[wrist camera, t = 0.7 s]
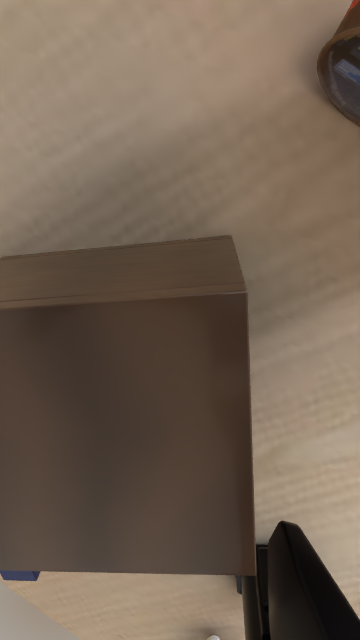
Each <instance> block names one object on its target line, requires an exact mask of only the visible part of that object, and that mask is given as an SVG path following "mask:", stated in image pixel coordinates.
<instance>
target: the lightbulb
mask: <svg viewBox="0 0 360 640" xmlns="http://www.w3.org/2000/svg"><path fill="white" fill-rule="evenodd" d="M206 640H220V639H219V637H218V636H215V635H212V636H210V637H209V639H206Z"/></svg>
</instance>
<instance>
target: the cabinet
mask: <svg viewBox="0 0 360 640" xmlns="http://www.w3.org/2000/svg"><path fill="white" fill-rule="evenodd" d="M0 570H8V571H56V572H104V573H152V574H200V575H248V576H255V575H256V543H255V511H254V480H253V448H252V417H251V386H250V354H249V323H248V292H247V288H246V285H245V281H244V278H243V274H242V271H241V267H240V264H239V260H238V257H237V253H236V250H235V246H234V243H233V240H232V236H231V235H230V236H219V237H209V238H198V239H188V240H177V241H167V242H156V243H146V244H135V245H124V246H114V247H103V248H93V249H82V250H72V251H61V252H50V253H40V254H29V255H19V256H8V257H1V258H0Z"/></svg>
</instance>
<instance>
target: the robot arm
mask: <svg viewBox="0 0 360 640" xmlns="http://www.w3.org/2000/svg"><path fill="white" fill-rule="evenodd" d="M236 579H237V592H238V593H239V594H242V598H243V612H244V625H245V639H246V640H360V619H359V618H358V616H357V615H356V613H355V612H354V610H353V608H352V607H351V605H350V604H349V602H348V601H347V599H346V598H345V596H344V595H343V593H342V592H341V590H340V588H339V587H338V585H337V584H336V582H335V581H334V579H333V578H332V576H331V575H330V573H329V572H328V570H327V568H326V567H325V565H324V564H323V562H322V561H321V559H320V558H319V556H318V555H317V553H316V552H315V550H314V548H313V547H312V545H311V544H310V542H309V541H308V539H307V538H306V536H305V535H304V533H303V531H302V530H301V528H300V527H299V526H298V525H297V524H295V523H291V522H286V521H280V522H279V523H278V525H277V527H276V529H275V531H274V532H273V534H272V536H271V538H270V540H269V543H268V545H256V575H255V576H248V575H236Z"/></svg>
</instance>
